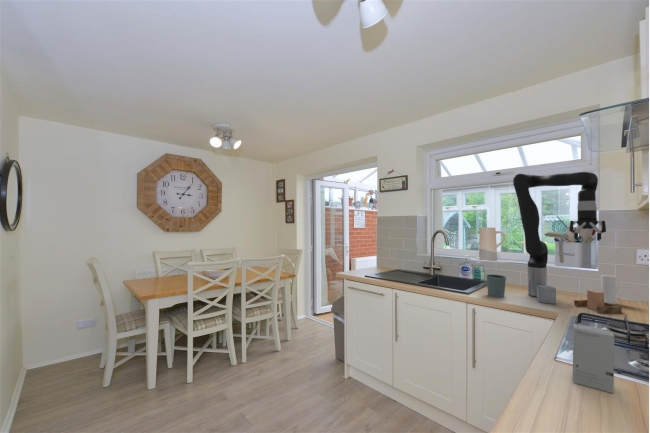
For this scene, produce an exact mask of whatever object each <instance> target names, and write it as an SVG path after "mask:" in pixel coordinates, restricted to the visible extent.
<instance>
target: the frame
mask: <svg viewBox="0 0 650 433" xmlns="http://www.w3.org/2000/svg"><path fill="white" fill-rule="evenodd" d="M573 305H574V307H588V306H587V299H574V300H573ZM622 308H623V307H622V306H621V305H617V304H610V303H606V302H604V306H597V311H596V313H597V312H598V313H597V314H619V313H620V314H622V312H623V309H622Z"/></svg>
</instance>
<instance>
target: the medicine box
mask: <svg viewBox="0 0 650 433" xmlns="http://www.w3.org/2000/svg"><path fill="white" fill-rule="evenodd" d="M536 301H537V302H538V303H541V304H542V303H543V304H554V305H555V304H557V288H556V287H555V286H553V285H552V286H551V285H550V286H549V285H547V286H538V285H537V297H536Z"/></svg>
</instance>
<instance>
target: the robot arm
mask: <svg viewBox="0 0 650 433" xmlns="http://www.w3.org/2000/svg"><path fill="white" fill-rule="evenodd" d="M598 180H599V178H598V176H597V174H595V173H593V172H589V171H580V172H579V171H578V172H571V173H570V172H569V173H567V172H566V173H555V174H554V173H553V174H548V175H546V174H545V175H535V174H530V173H518V174H516V175H515V176H513V180H512V183H513V188H514V190H515V193H516V198H517V203H518V208H519V214H520V219H521V222H522V227H523V232H524V243H525V244H524V245H525V246H524V247H525V250H526V252H527V254H528V255H529V259H528V261H527V295H528V296H531V297H535V298H537V285H538V286H548V281H547V278H548V277H547V264H548V259H549V258H548V255H549V254H548V252H549V251H548V250H549V249H548V246H547V244H546V242H544V241H542V240H541V237H540V233H539V227H540V212H539V210H538V209H539V208H538V205H537V204H536V202H535V201H534V200H533V198H532V196H531V193H530V188H536V187H571V186H581V188H580V191H578V192H577V206H576V207H577V220H569V230H568V231H569V232H570V233H573V238H574V239H575V240H576V241H579V233H578V232H580V231H581V229H583V230H586V229H587V230H588V229H589V230H591V229H593V230H594V231H595V232H596V241H598V242H599V241H600V240H602V233H606V232H607V227H606V221H605V220H598V218H597V216H598V215H597V211H598V210H597V209H598V208H597V200H596V199H597V197H596V192H597V189H598V188H597V187H598V183H599V181H598ZM576 224H577V227H576V229H574V226H576ZM598 224H599V225H600V226H601V230H600V229H599V228H598V226H597V225H598Z"/></svg>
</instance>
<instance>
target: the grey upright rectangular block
mask: <svg viewBox="0 0 650 433" xmlns="http://www.w3.org/2000/svg"><path fill="white" fill-rule="evenodd" d="M572 326H573V329H572V330H573V331H572V337H573V338H572V382H573V383H574V384H577V385H582V386H584V387H589V388H592V389H595V390H600V391H603V392H607V393H611V394H614V392H615V391H614V386H615V385H614V384H615V379H614V378H615V374H614V373H615V334H614V333H613V331H612V330H608V329H604V328H599V327H594V326H589V325H584V324H578V323H573V325H572Z"/></svg>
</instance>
